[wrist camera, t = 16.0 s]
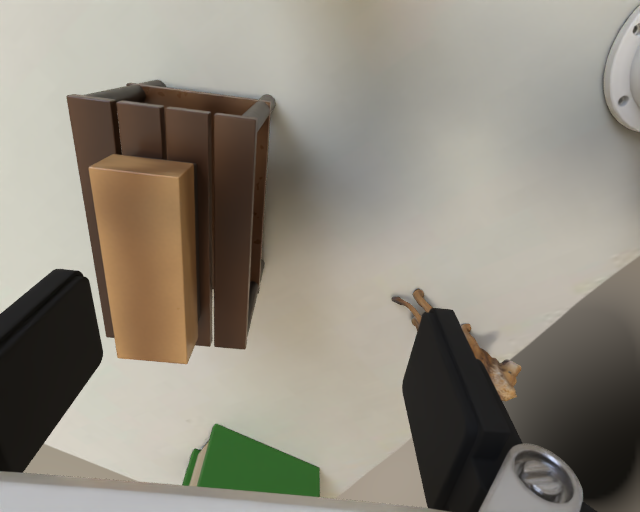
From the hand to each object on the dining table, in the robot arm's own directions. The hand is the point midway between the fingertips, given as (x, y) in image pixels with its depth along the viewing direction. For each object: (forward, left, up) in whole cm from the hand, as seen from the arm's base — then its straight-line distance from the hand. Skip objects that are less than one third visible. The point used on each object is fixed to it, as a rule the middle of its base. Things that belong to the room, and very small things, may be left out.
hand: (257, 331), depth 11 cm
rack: (+6, +8, -29) cm, 30 cm away
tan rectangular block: (+6, +8, -16) cm, 19 cm away
